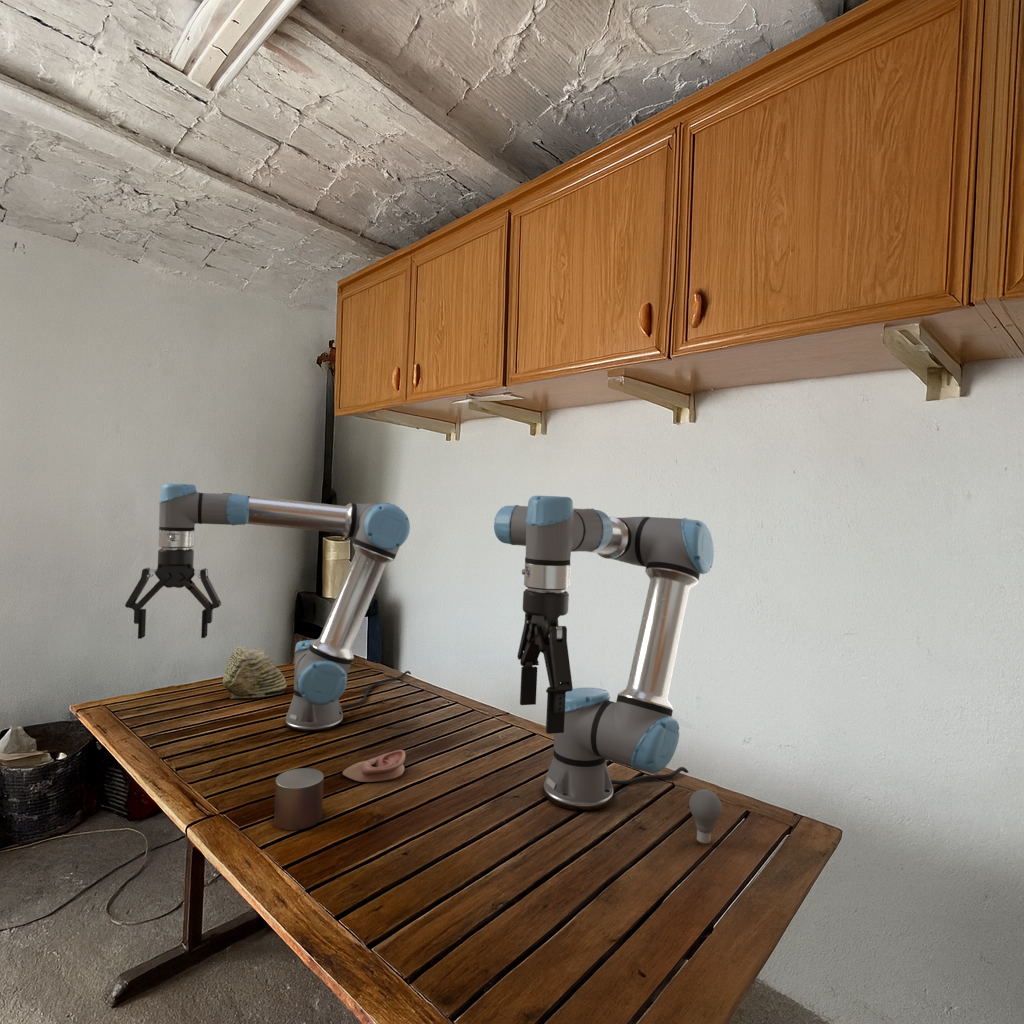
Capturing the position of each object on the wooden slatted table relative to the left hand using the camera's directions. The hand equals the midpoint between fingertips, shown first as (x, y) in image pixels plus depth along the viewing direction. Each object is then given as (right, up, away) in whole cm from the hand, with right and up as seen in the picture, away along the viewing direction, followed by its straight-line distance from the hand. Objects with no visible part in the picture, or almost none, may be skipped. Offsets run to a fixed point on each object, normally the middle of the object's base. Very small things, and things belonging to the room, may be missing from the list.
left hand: (173, 637), depth 151 cm
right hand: (+86, -4, -46) cm, 97 cm away
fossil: (0, -27, +47) cm, 54 cm away
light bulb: (+118, -34, -29) cm, 126 cm away
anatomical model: (+49, -31, -5) cm, 58 cm away
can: (+39, -30, -26) cm, 56 cm away
